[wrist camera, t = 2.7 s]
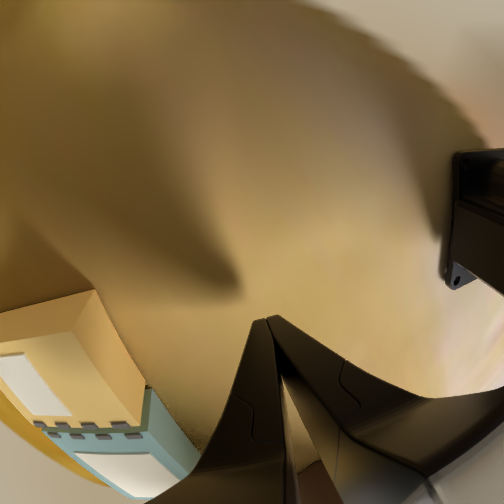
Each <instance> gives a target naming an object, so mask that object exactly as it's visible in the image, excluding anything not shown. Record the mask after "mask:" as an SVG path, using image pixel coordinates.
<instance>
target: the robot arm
mask: <svg viewBox="0 0 504 504" xmlns="http://www.w3.org/2000/svg"><path fill="white" fill-rule="evenodd" d="M462 164H463V165H462ZM452 170H453V200H452V223H451V237H450V248H449V257H448V265H447V272H446V279H445V284H446V286H448V287H449V288H450V289H452V290H456V289H458V288H460V287H462V286H464V285H466V284H468V283H470V282H472V281H473V280H475V279H477V278H478V279H480V280H481V281H482V282H484V283H485V284H487V285H488V286H490V287H491V288H492V289H494V290H495V291H496V292H498V293H499V294H500V295H502V296H503V297H504V148H497V149H478V150H464V151H457V152H456V153H455V154H454V156H453V161H452ZM281 376H282V377H281ZM282 379H283V381H284V384H285V386H286V388H287V390H288V392H289V394H290V396H291V398H292V401H293V403H294V405H295V407H296V409H297V411H298V413H299V415H300V417H301V419H302V421H303V423H304V425H305V427H306V429H307V431H308V434H309V436H310V438H311V440H312V442H313V444H314V446H315V448H316V450H317V452H318V454H319V456H320V458H321V460H322V462H323V464H324V466H325V468H326V470H327V472H328V474H329V476H330V477H331V479H332V481H333V483H334V484H335V487H336V489H337V491H338V493H339V495H340V497H341V499H342V501H343V503H344V504H504V386H503V387H500V388H498V389H495V390H491V391H486V392H480V393H474V394H468V395H461V396H453V397H445V398H426V397H422V396H418V395H416V394H413V393H411V392H408V391H406V390H404V389H401V388H399V387H397V386H395V385H392V384H390V383H388V382H386V381H384V380H381V379H379V378H377V377H375V376H373V375H371V374H369V373H367V372H366V371H364V370H362V369H360V368H359V367H357V366H355V365H354V364H352V363H351V362H349V361H348V360H346V361H345V359H344V358H343V357H341V356H340V355H338V354H337V353H335V352H334V351H332V350H330V349H329V348H327V347H326V346H324V345H323V344H321V343H320V342H318V341H317V340H315V339H314V338H312V337H311V336H309V335H308V334H306V333H305V332H303V331H302V330H300V329H299V328H297V327H296V326H294V325H293V324H291V323H290V322H288V321H287V320H285V319H284V318H282V317H281V316H280V315H273V316H270V317H267V318H266V319H265V318H262V319H258V320H255V321H253V323H252V326H251V329H250V332H249V335H248V338H247V341H246V345H245V348H244V351H243V354H242V357H241V360H240V363H239V366H238V370H237V373H236V376H235V379H234V382H233V385H232V388H231V391H230V394H229V397H228V400H227V403H226V405H225V408H224V411H223V413H222V416H221V418H220V420H219V422H218V424H217V426H216V429H215V431H214V432H213V434H212V436H211V438H210V440H209V442H208V444H207V446H206V448H205V449H204V451H203V453H202V455H201V457H200V459H199V460H198V462H197V464H196V466H195V467H194V468H193V470H192V471H191V472H190V473H189V474H188V475H187V476H186V477H185V478H184V479H182V480H181V481H179V482H178V483H176V484H175V485H173V486H172V487H170V488H169V489H167V490H166V491H164V492H162V493H161V494H159V495H158V496H156V497H154V498H153V499H151V500H150V501H148V502H146V503H144V504H301V501H300V495H299V487H298V480H297V474H296V467H295V460H294V453H293V446H292V440H291V433H290V426H289V420H288V413H287V407H286V400H285V394H284V387H283V382H282Z"/></svg>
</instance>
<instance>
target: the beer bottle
mask: <svg viewBox="0 0 504 504" xmlns="http://www.w3.org/2000/svg"><path fill="white" fill-rule="evenodd" d="M297 480H298V487H299V495H300V501H301V504H344V503H343V501H342V499H341V497H340V495H339V493H338V491H337V489H336V487H335V484H334V483H333V481H332V479H331V477H330V476H329V474H328V472H327V470H326V468H325V466H324V464H323V462H322V460H320V461H317V462H314V463H313V464H311V465H310V466H309V467H307V468H306V469H305V470H303V471H302V472H301V473H299V474H298V475H297Z"/></svg>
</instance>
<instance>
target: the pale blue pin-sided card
mask: <svg viewBox="0 0 504 504" xmlns="http://www.w3.org/2000/svg"><path fill="white" fill-rule="evenodd" d="M42 432H43V433H44V434H45V435H46V436H48V437H49V438H50V439H51V440H52V441H53V442H54V443H55V444H56V445H57V446H59V447H60V448H61V449H62V450H63V451H64V452H65V453H67V454H68V455H69V456H70V457H71V458H73V459H74V460H75V461H76V462H78V463H79V464H80V465H81V466H83V467H84V468H85V469H87V470H88V471H89V472H91V473H92V474H93V475H95V476H96V477H98V478H99V479H100V480H102V481H103V482H105V483H106V484H108V485H109V486H111V487H112V488H114V489H115V490H117V491H118V492H120V493H121V494H123V495H125V496H126V497H128V498H130V499H144V500H145V499H146V500H151V499H153V498H154V497H156V496H158V495H159V494H161V493H162V492H164V491H166V490H167V489H169V488H170V487H172V486H173V485H175V484H176V483H178V482H179V481H181V480H182V479H184V478H185V477H186V476H187V475H188V474H189V473H190V472H191V471H192V470H193V468H194V467H195V466H196V464H197V462H198V460H199V459H200V457H201V454H200V453H199V451H198V450H197V449H196V448H195V446H194V445H193V444H192V443H191V441H190V440H189V439H188V438H187V436H186V435H185V434H184V432H183V431H182V430H181V429H180V427H179V426H178V425H177V423H176V422H175V420H174V419H173V418H172V416H171V415H170V414H169V412H168V411H167V409H166V408H165V407H164V405H163V404H162V402H161V401H160V399H159V398H158V396H157V395H156V393H155V392H154V390H153V389H152V388H150V389H145V390H144V397H143V405H142V413H141V422H140V426H131V427H130V428H126V429H114V428H113V427H111V428H98V429H84V428H71V429H59V428H58V427H48V426H47V428H43V429H42Z"/></svg>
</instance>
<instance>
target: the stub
mask: <svg viewBox="0 0 504 504" xmlns="http://www.w3.org/2000/svg"><path fill="white" fill-rule="evenodd" d="M145 383H146V381H145V379H144V378H143V376H142V375H141V373H140V371H139V370H138V368H137V367H136V365H135V363H134V362H133V360H132V358H131V357H130V355H129V353H128V352H127V350H126V348H125V346H124V345H123V343H122V341H121V339H120V337H119V336H118V334H117V332H116V330H115V328H114V326H113V324H112V323H111V321H110V319H109V317H108V315H107V313H106V311H105V309H104V307H103V305H102V303H101V301H100V299H99V297H98V294H97V292H96V290H95V289H93V290H89V291H85V292H81V293H78V294H74V295H70V296H66V297H62V298H58V299H54V300H50V301H46V302H42V303H38V304H34V305H30V306H26V307H22V308H18V309H15V310H11V311H7V312H3V313H0V390H1V391H2V392H3V393H4V394H5V396H6V397H7V398H8V399H9V400H10V401H11V403H12V404H13V405H14V406H15V407H16V408H17V409H18V410H19V411H20V413H21V414H22V415H23V416H24V417H25V418H26V419H27V420H28V421H29V422H30V423H31V424H32V425H35V426H36V427H43V428H47V426H48V427H58V428H59V429H71V428H84V429H98V428H111V427H113V428H114V429H126V428H130V427H131V426H140V422H141V413H142V405H143V397H144V390H145Z"/></svg>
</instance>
